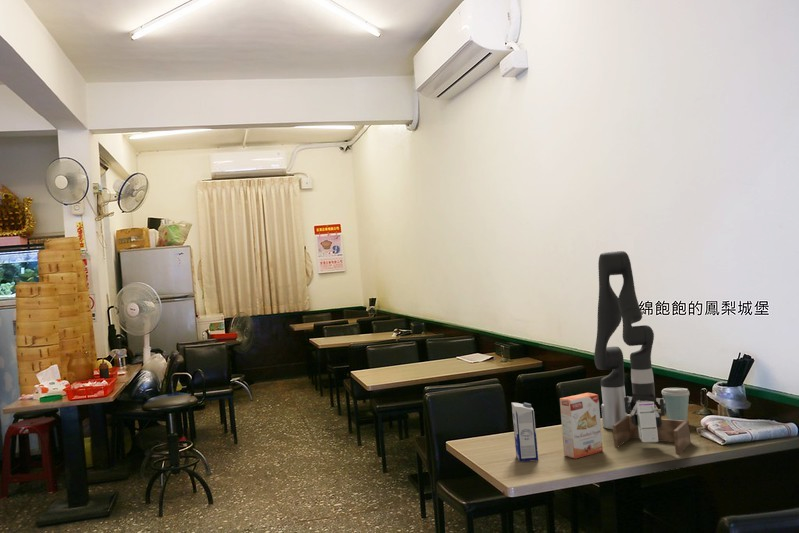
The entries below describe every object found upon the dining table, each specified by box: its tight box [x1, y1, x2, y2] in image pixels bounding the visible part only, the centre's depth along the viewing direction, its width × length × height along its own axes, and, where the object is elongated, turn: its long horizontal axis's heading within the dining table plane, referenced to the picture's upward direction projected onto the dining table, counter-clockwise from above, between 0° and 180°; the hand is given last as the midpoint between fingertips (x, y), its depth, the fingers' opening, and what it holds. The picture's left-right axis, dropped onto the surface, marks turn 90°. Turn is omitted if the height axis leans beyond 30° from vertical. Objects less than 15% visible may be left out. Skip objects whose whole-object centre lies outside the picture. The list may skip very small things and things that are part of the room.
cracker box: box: [559, 392, 604, 460], centre depth 211 cm, size 14×6×21 cm, turn 117°
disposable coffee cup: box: [661, 387, 691, 421], centre depth 238 cm, size 11×11×15 cm
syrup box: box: [636, 401, 659, 443], centre depth 211 cm, size 6×6×14 cm
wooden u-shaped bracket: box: [612, 415, 691, 455], centre depth 214 cm, size 22×15×8 cm
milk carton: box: [511, 402, 539, 462], centre depth 211 cm, size 7×7×20 cm
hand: (646, 426), depth 211 cm, fingers closed on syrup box, 7 cm apart
